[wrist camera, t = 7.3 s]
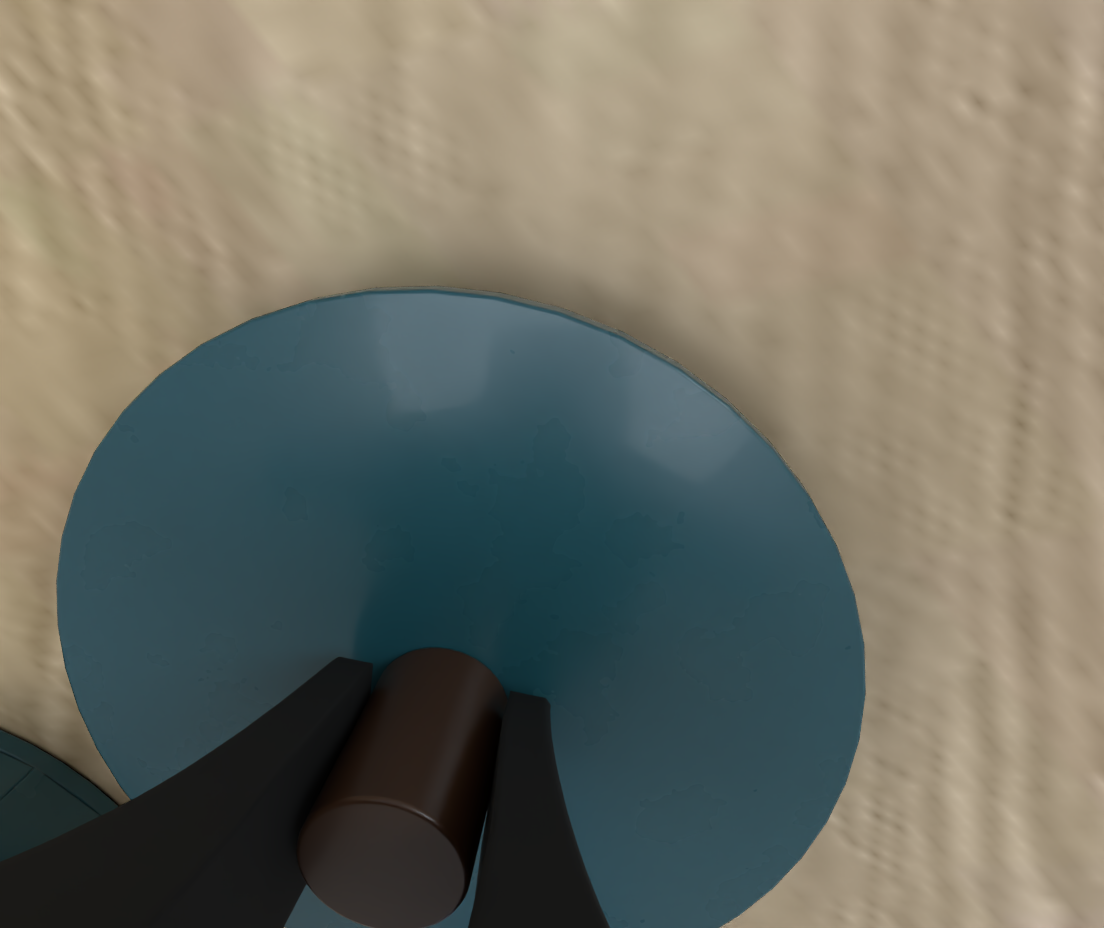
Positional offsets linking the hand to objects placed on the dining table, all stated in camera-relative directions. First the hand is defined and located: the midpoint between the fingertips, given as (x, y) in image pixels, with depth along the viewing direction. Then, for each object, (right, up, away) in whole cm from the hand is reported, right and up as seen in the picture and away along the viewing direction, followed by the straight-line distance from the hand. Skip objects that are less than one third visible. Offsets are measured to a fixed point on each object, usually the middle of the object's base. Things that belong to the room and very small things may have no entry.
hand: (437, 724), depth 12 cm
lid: (0, 0, +1) cm, 1 cm away
